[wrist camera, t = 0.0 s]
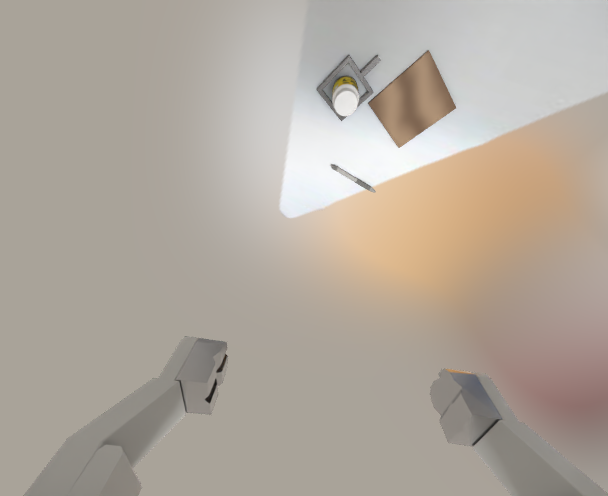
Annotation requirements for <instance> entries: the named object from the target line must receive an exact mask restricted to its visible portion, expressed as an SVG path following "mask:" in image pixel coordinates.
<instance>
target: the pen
mask: <svg viewBox="0 0 608 496" xmlns="http://www.w3.org/2000/svg"><path fill="white" fill-rule="evenodd" d="M331 167H332V168H333V169H334V170H335V171H337V172H339V173H341V174H342V175H344V176H346V177H347V178H349V179H351V180H352V181H354V182H355V183H357V184H359V185H360V186H362V187H364V188H365V189H367V190H369V191H371V192H375V190H374V189H373V188H372V187H370V186H369V185H367V184H365V183H364V182H362V181H360V180H359V179H357V178H355V177H353V176H352V175H350V174H348V173H347V172H345V171H343V170H342V169H340V168H339V167H338V166H335V165H331Z"/></svg>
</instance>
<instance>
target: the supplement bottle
mask: <svg viewBox="0 0 608 496" xmlns="http://www.w3.org/2000/svg"><path fill="white" fill-rule="evenodd" d="M358 102H359V92H358V87H357V83H356V81H355V80H354V79H353V78H352V77H350V76H342V77H340V78H339V79H337V81H336V82H335V84H334V86H333V94H332V103H333V106H334V108H335V110H336V112H337V113H338V114H339V115H341V116H349V115H351V114H352V113H354V111H355V110H356V108H357V105H358Z"/></svg>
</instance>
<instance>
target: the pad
mask: <svg viewBox="0 0 608 496" xmlns="http://www.w3.org/2000/svg"><path fill="white" fill-rule="evenodd" d="M368 104H369V105H370V107H371V108H372V110H373V111H374V113H375V114H376V116H377V117H378V118H379V120H380V121H381V123H382V124H383V126H384V127H385V129H386V130H387V131H388V133H389V134H390V136H391V137H392V139H393V140H394V142H395V143H396V145H397V146H398V147H399V148H400V147H401V146H403V145H404V144H405V143H407V142H408V141H410V140H411V139H413V138H414V137H415V136H417V135H418V134H420V133H421V132H423V131H424V130H425V129H427V128H428V127H430V126H431V125H433V124H434V123H436V122H437V121H438V120H440V119H441V118H443V117H444V116H446V115H447V114H448V113H450V112H451V111H453V110H454V109H456V106H455V104H454V102H453V100H452V98H451V96H450V94H449V92H448V89H447V87H446V85H445V83H444V81H443V79H442V77H441V75H440V73H439V71H438V68H437V66H436V64H435V62H434V60H433V58H432V56H431V54H430V52H429V51H427V52H426V53H425V54H424V55H422V56H421V57H420V58H419V59H418V60H417V61H416V62H414V63H413V64H412V65H411V66H410V67H409V68H408V69H406V70H405V71H404V72H403V73H402V74H401V75H400V76H398V77H397V78H396V79H395V80H394V81H393V82H392V83H390V84H389V85H388V86H387V87H386V88H385V89H384V90H382V91H381V92H380V93H379V94H378V95H377V96H376V97H374V98H373V99H372V100H371V101H370V102H369V103H368Z"/></svg>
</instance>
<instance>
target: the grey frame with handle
mask: <svg viewBox="0 0 608 496" xmlns="http://www.w3.org/2000/svg"><path fill="white" fill-rule="evenodd" d="M380 61H381V60H380V58H379V57H378V55H377V56H376V57H375V58H374V59H373V60H372V61H371V62H369V63H368V64H367V65H366V66H365V67H364V68H363V69H362V70H361V71H359V69H358V68H357V66H356V64H355V63H354V61H353V60H352V58H351V57H350V55H348V56H347V57H346V59H345V60H344V61H343V62H342V63H341V64H340V65H339V66H338V67H337V68H336V69H335V70H334V71H333V72H332V73H331V74H330V75H329V76H328V78H327V79H326V80H325V81H324V82H323V83H322V84H321V85H320V86H319V87H318V88H317V91H318V92H319V94H320V95H321V96H322V97H323V99H324V100H325V101H326V102H327V104H328V105H329V106H330V107H331V109H332V110H333V111H334V113H335V114H336V115H337V116H338V118H339V119H340V120H341V121H342V120H343V119H344V118H346V117H347V116H341V115H339V114H338V113H337V112H336V110H335V108H334V106H333V103H332V101H331V100H330V99H329V97H328V96H327V95H326V94H325V92H324V91H323V90H322V89H323V88H324V87H325V86H326V85H327V84H328V83H329V82H330V81H331V80H332V79H333V78H334V77H335V76H336V75H337V74H338V73H339V72H340V71H341V70H342V69H343V67H344V66H345V65H346V64H347V63H348V62H349V64H350V65H351V66H352V68H353V69H354V71H355V72H356V74H357V75H358V77H359V78H360V80H361V81H362V83H363V84H364V86H365V87H366V89H367V90H368V91H367V92H366V93H365V94H364V95H363V96H362V97H361V98H360V99H359V102H358V105H357V107H358V106H359V105H360V104H361V103H362V102H364V101H365V100H366V99H367V98H368V97H369V96H370V95H371V94H373V90H372V89H371V87H370V86H369V84H368V83H367V81H366V80H365V78H364V76H365V75H366V74H367V73H368V72H369V71H370V70H371V69H372V68H373V67H374V66H375V65H376V64H377V63H378V62H380Z"/></svg>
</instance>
